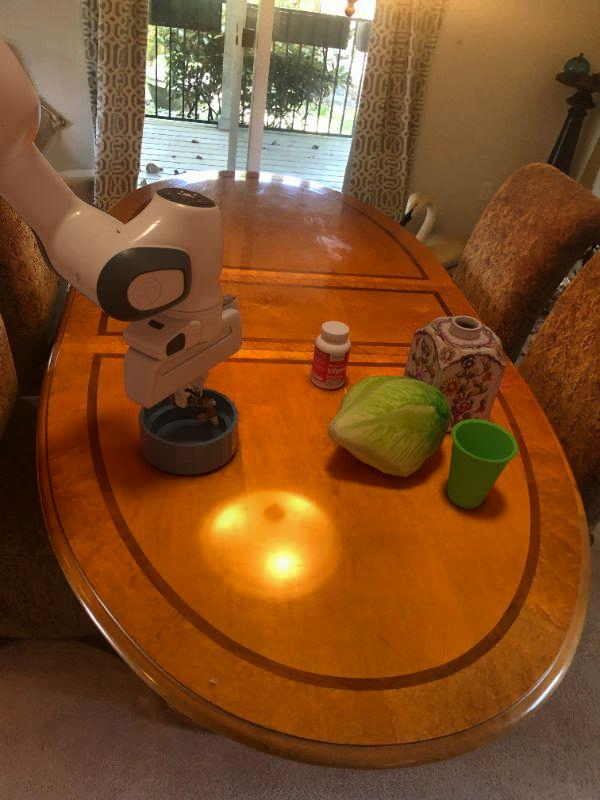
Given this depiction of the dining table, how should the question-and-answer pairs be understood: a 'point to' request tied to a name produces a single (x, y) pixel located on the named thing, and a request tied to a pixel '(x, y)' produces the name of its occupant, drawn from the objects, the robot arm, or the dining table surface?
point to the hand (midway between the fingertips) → (188, 400)
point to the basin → (188, 435)
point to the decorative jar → (459, 364)
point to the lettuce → (391, 423)
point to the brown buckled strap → (206, 403)
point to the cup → (477, 460)
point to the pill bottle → (331, 355)
